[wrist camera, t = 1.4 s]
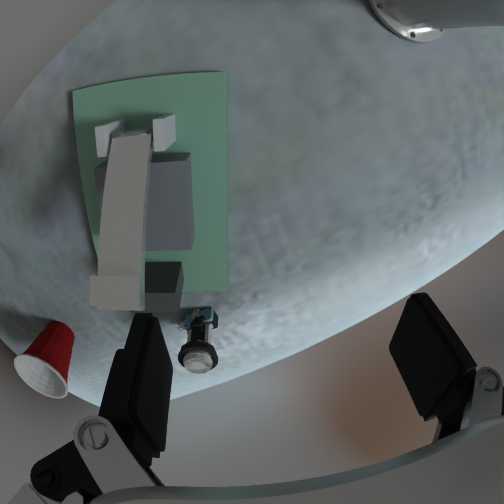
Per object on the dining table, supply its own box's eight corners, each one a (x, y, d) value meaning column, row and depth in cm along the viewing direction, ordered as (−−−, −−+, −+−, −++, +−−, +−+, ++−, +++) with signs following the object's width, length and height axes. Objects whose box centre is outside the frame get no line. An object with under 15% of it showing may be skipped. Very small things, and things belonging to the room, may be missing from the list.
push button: (187, 332, 46) (182, 382, 38) (170, 311, 44) (161, 361, 35) (224, 320, 45) (225, 371, 37) (208, 297, 43) (205, 348, 34)
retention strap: (115, 136, 25) (108, 124, 23) (157, 131, 26) (152, 119, 24) (100, 308, 23) (89, 309, 21) (147, 310, 23) (139, 311, 21)
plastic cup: (86, 321, 44) (64, 375, 34) (86, 356, 49) (70, 405, 39) (35, 301, 41) (6, 349, 31) (40, 338, 46) (19, 383, 36)
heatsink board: (78, 90, 26) (42, 94, 19) (228, 72, 28) (228, 66, 21) (110, 285, 40) (93, 321, 34) (228, 284, 42) (229, 324, 35)
